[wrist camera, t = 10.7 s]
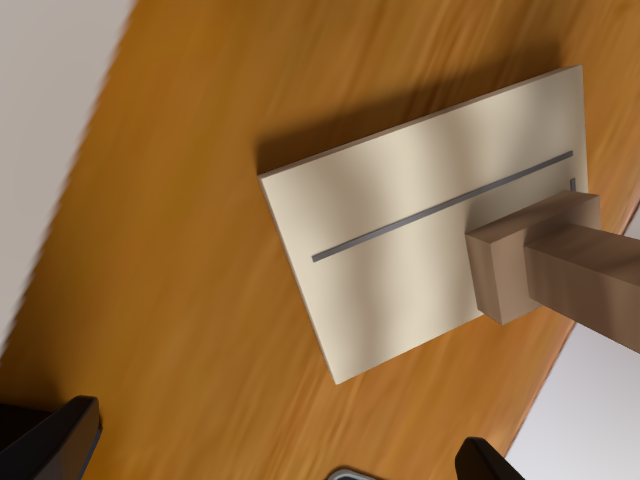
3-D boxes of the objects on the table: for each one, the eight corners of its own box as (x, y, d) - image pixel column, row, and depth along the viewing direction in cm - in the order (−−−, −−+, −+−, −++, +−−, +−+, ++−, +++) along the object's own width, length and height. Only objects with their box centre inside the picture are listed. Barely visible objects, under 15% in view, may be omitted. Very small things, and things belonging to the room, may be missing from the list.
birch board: (327, 369, 22) (336, 385, 21) (256, 175, 18) (261, 179, 16) (570, 255, 25) (592, 262, 24) (557, 68, 21) (583, 64, 20)
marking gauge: (477, 309, 22) (758, 490, 11) (464, 233, 20) (781, 356, 9) (571, 264, 23) (910, 386, 12) (566, 190, 22) (954, 250, 10)
